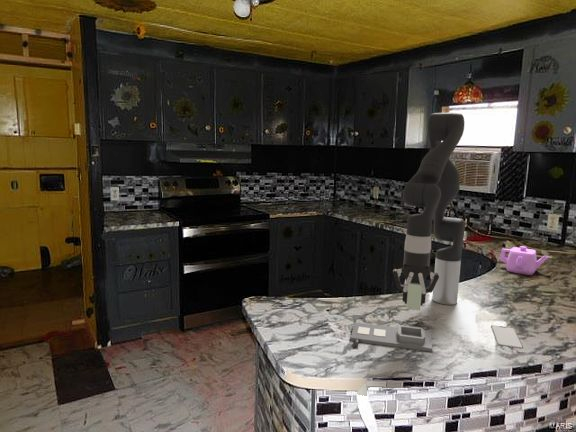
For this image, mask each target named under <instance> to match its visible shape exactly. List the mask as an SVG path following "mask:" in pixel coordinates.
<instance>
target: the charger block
mask: <svg viewBox="0 0 576 432" xmlns="http://www.w3.org/2000/svg"><path fill="white" fill-rule="evenodd" d="M408 282H409V281H408ZM407 292H408V293H407V304H405V306H406V309H405V310H413V311H421V307H422V305H421V295H422V285H420V283H417V282H410V283H408V290H407Z"/></svg>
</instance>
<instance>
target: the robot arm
mask: <svg viewBox="0 0 576 432" xmlns="http://www.w3.org/2000/svg"><path fill="white" fill-rule="evenodd" d="M464 130H465V118H464V115H463V114H462V113H461V112H434V113H431V114H430V115H429V117H428V120H427V139H428V144H429V151H428V152H427V153H426V154H425V155H424V157H423V158H422V160H421V162H420V166H418V167H419V168H418V170H417V172H415V174H414V175H413V176H412V177H411V179H409V180H408V182H407V183H406V184H405V186H404V188H403V191H402V199H403V202H404V203H405V204H406V205H407V206H410V207H419V208H424V211H423V212H421V213H415V214H414V213H413V214H410V215H408V217H407V220H406V221H407V222H406V223H407V224H406V235H405V240H404V245H403V246H404V253H403V264H402V266H401V268H398V269H397V268H394V269H393V270H392V274H393V278H394V280H395V285H396V289H397V290H400V291H402V299H401V300H402V302H404V304H405V305H406V304H407V293H408V292H407V290H408V283H410V282H417V283H420V285H422V295H421V306H423V305H425V303H426V295H427V294H429V293H430V294H431V293H432V297H431V299H432V301H433V302H435V303H438V304H440V305H446V306H447V305H451V306H452V305H456V304H458V296H459V295H458V294H459V285H460V284H459V283H460V275H461V262H462V254H463V244H464V239H465V238H464V236H465V233H466V232H465V231H466V224H465V223H466V222H465V220H464V219H462V218H458V217H447V216H445V211H446V209H447V208H448V206H449V205H450V203H451V204H452V201H454V199H455V198H456V197H457V195H458V193H459V191H460V188H461V187H460V185H461V184H460V182H461V181H460V172H459V170H458V168H457V166H456V164H454V162H453V160H451V158H450V157H451V155H452V154H453V153H454V151H455V149H456V148H457V146H458V144H459V142H460V141H461V139H462V137H463V134H464ZM432 226H433V227H432ZM432 229H433V235H434V238H435V239H436V240H437V241H443V242H452V245H451V246H448V247H444V248H443V247H442V248H439V249H437V250H436V252H435V261H434V262H435V263H434V271H431V269H430V261H431V251H432ZM401 273H402V274H403V276H404V277H405V280H404V283H403V284H402V283H401V280H400V276H402V275H401ZM429 276H430V282H429V284H428V286H427V287H426V285H425V280H426V279H427V278H429ZM408 281H409V282H408Z"/></svg>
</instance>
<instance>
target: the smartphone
mask: <svg viewBox="0 0 576 432" xmlns="http://www.w3.org/2000/svg"><path fill="white" fill-rule="evenodd" d="M490 328H491V331H492V334H493V337H494V339H495V342H496V344H497V345H498V346H502V347H511V348H515V349H524V345H523V343H522V341H521V339H520V337H519V335H518V333H517V331H516V329H515V328H513V327H509V326H501V325H500V326H499V325H494V324H492V325H490Z"/></svg>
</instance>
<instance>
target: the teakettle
mask: <svg viewBox="0 0 576 432" xmlns="http://www.w3.org/2000/svg"><path fill="white" fill-rule="evenodd" d="M506 253H508V255H507V257H506ZM548 258H549V256H548V255H543V256H542V257H540V258H539V259H538V260H537V250H535V249H532V248H531V249H530V248H528V247H527V246H524V245H520V246H519V247H516V246H513V247H511V248H510V249H509V248H501V251H500V255H499V260H500V261H501V262H503V263H504V264H505V267H506V268H505V269H506V271H507V272H508V273H509V272H510V273H514V274H515V273H516V274H521V275H527V276H532V275H534V274H535V273H536V270H537V269H538V268H539V267H541V265H542V264H543V263H545V261H546V260H547V259H548Z"/></svg>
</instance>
